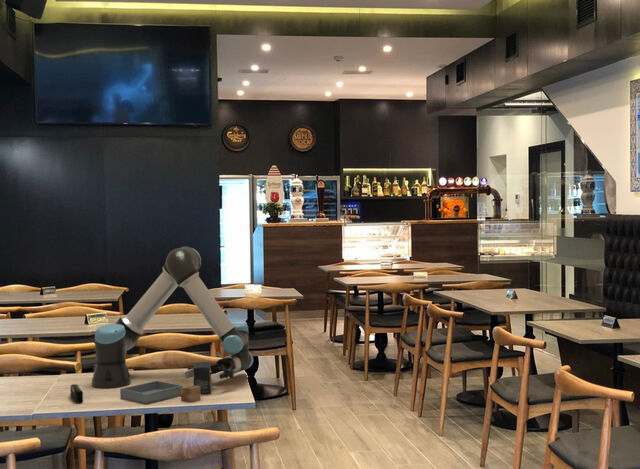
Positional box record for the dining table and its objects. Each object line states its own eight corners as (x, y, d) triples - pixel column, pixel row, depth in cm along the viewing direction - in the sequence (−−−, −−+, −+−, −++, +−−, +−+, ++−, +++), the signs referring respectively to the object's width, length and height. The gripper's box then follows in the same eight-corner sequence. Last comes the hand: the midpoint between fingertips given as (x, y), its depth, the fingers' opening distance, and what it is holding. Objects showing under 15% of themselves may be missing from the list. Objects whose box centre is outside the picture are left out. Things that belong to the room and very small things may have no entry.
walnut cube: (181, 401, 278) (180, 387, 278) (189, 398, 283) (189, 384, 282) (191, 402, 276) (191, 389, 276) (200, 399, 280) (200, 386, 280)
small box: (194, 388, 298) (194, 361, 297) (211, 388, 298) (211, 361, 298) (193, 395, 287) (192, 367, 287) (210, 394, 288) (210, 366, 288)
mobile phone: (84, 390, 278) (76, 381, 291) (75, 391, 276) (67, 382, 289) (84, 403, 278) (76, 394, 291) (75, 405, 277) (68, 395, 290)
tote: (120, 398, 284) (120, 388, 284) (157, 389, 297) (157, 380, 297) (146, 404, 274) (146, 394, 274) (183, 395, 287) (183, 385, 287)
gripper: (255, 377, 305) (227, 389, 285) (201, 373, 315) (171, 384, 295) (254, 358, 304) (226, 369, 285) (201, 355, 315) (171, 364, 295)
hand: (198, 376), depth 290 cm, fingers open, 13 cm apart
